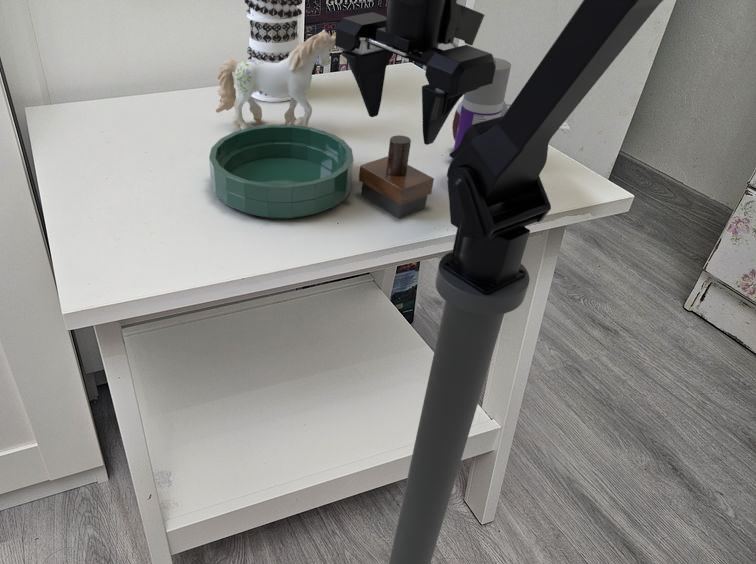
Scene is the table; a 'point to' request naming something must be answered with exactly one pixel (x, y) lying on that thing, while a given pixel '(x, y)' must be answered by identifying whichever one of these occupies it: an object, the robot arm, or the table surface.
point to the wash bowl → (281, 170)
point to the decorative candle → (272, 34)
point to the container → (484, 101)
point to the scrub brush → (395, 181)
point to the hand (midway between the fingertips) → (400, 129)
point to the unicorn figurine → (274, 80)
